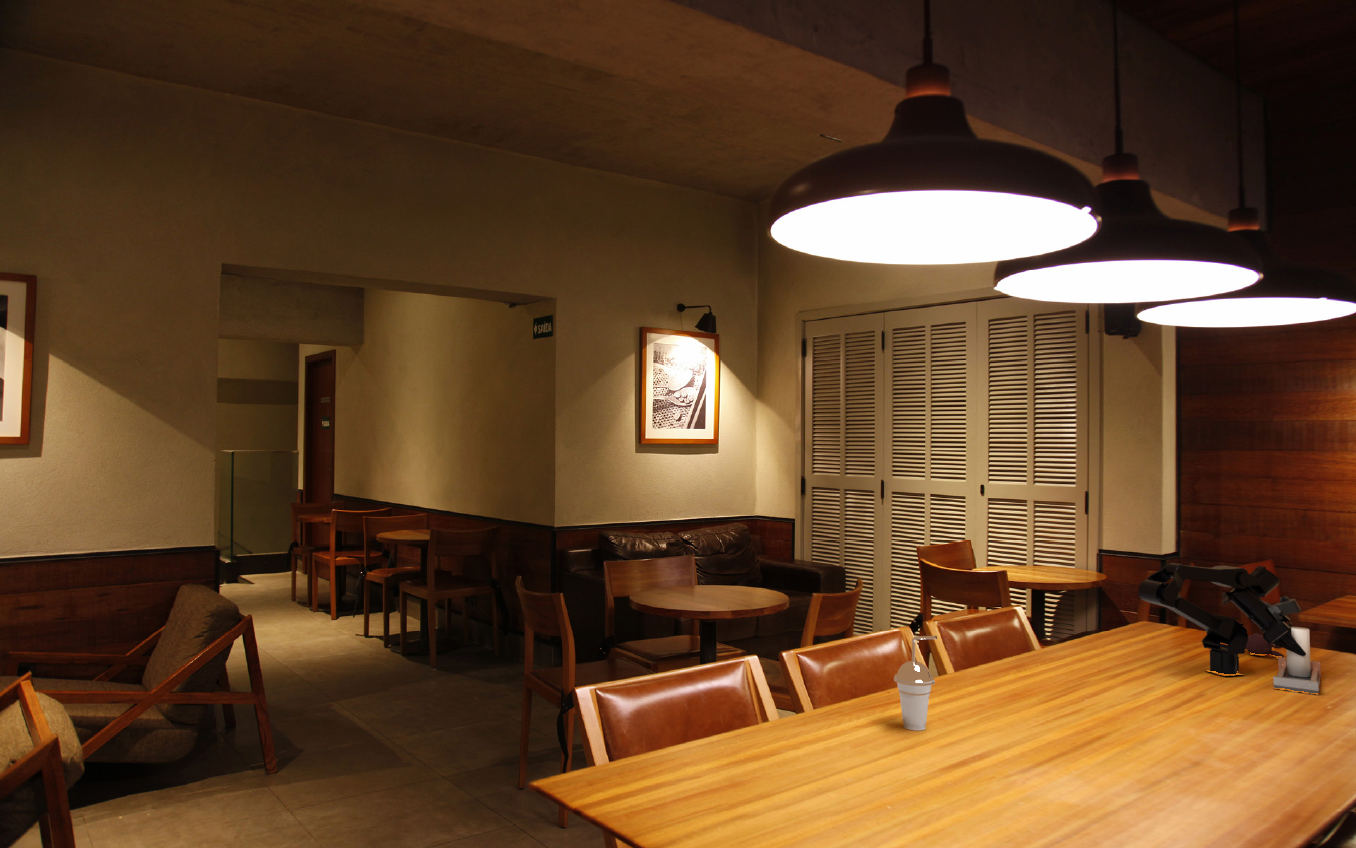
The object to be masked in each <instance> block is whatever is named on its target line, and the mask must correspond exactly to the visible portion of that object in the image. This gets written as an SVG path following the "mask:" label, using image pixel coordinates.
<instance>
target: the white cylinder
mask: <svg viewBox="0 0 1356 848" xmlns="http://www.w3.org/2000/svg"><path fill="white" fill-rule="evenodd" d="M1291 628H1292V637H1293V638H1294V639H1295V640H1296V641H1297V643H1298V644H1299V645H1300V646H1301V648H1302V649H1303V650H1304V651H1305V653H1306V655H1305V656H1300V655H1298V654H1296V653H1294V652H1292V651H1289V650H1287V649H1286V658H1287V674H1289V675H1292V676H1298V677H1310V676H1311V671H1310V661H1311V643H1310V642H1311V641H1310V640H1311V639H1310V633H1311V632H1310V629H1309V628H1307V627H1300V626H1292V627H1291Z"/></svg>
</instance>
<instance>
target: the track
mask: <svg viewBox="0 0 1356 848" xmlns="http://www.w3.org/2000/svg"><path fill="white" fill-rule="evenodd" d="M1284 657H1285V656H1284ZM1284 657H1278V659H1277V661H1278V662H1277V663H1278V671H1279V672H1278V671H1277V675H1273V677H1272V679H1273V688H1274V687H1275V688H1285V689H1290V690H1294V691H1304V692H1309V693H1318V692H1319V693H1320V688H1319V685H1320V686H1321V681H1320V678H1321V679H1322V673H1321V661H1315V660H1310V671H1311V676H1310V677H1298V676H1292V675H1289V674H1287V657H1285V658H1284Z"/></svg>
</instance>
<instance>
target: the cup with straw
mask: <svg viewBox="0 0 1356 848" xmlns="http://www.w3.org/2000/svg"><path fill="white" fill-rule="evenodd" d="M937 639H938V637H937V635H919V636H917V635H916V636H913V637H912V639H911V660H909V661H906V662H904V663H903V664H901V665H900V667H899V669H898V671H897V673H896V674H894V678H893V681H894V682H895V683H896V684H897V689H898V694H899V698H900V699H899V700H900V708H901V718H902V721H903V729H905V730H908V731H917V732H918V731H925V730H926V724H927V719H928V708H929V700H930V696H931V691H932V686H933V685H935V683H936V681H935V678H934V677H933V676H932V674H931V673H930V670H929V668H928V667H927V665H925V664H924V663H922V662H920V661H916V640H937Z"/></svg>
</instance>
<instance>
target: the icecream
mask: <svg viewBox="0 0 1356 848" xmlns="http://www.w3.org/2000/svg"><path fill="white" fill-rule="evenodd" d="M1273 649H1278V650H1279V649H1282V647H1280V646H1278V645H1275V644H1273V643H1270V644H1269V643H1268V642H1267V641H1266V640H1265V639H1264V638H1263V634H1260V633H1258V632H1256V633H1255V632H1254V633H1252V635H1248V641H1247V645H1246V649H1245V650H1246V651H1247V652H1248V653H1250V652H1251V653H1255V654H1268V655H1269V654H1271V655H1275V656H1282V657H1285V655H1283V654H1282V653H1281V652H1279V651H1277V650H1276V651H1275V650H1273Z"/></svg>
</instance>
